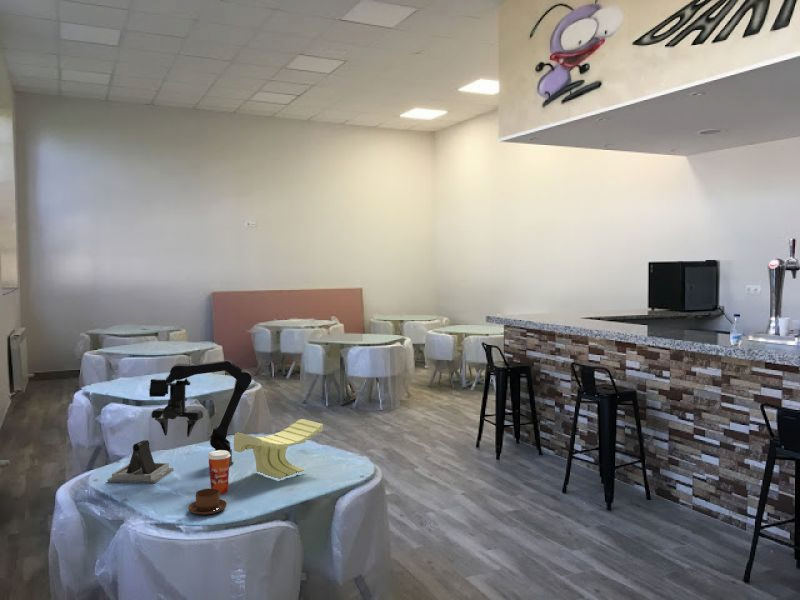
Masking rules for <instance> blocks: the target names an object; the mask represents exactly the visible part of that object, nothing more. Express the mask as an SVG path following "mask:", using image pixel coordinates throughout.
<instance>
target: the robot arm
mask: <svg viewBox="0 0 800 600" xmlns="http://www.w3.org/2000/svg"><path fill="white" fill-rule="evenodd" d="M218 372H227V373H228V374H229V375H230V376H231V377H232V378H234V379H235V381H234V387H233V391H232V393H231V395H230V398H229V400H228V403H227V405H226V407H225V409H224V412H223V414H222V416H221V419H220V421H219V423H218V424H217V426H216V425H214V424H213V426H212V429H211V432H210V433H209V434H208V435H209V437H208V439H209V444H210V446H211V448H213V449H214V451H217V450H225V451H228V452H229V453H230V455H231V456H230V457H229V468H230V467H231V466H232V465H233V464H234V462H235V461H233V451H232V450H233V449H232V447H231V442H230V441H229V440H228V438H227V435H228V430H229V428H230V424H231V422H232V419H233V417H234V415H235V412H236V411H237V408H238V406H239V403H240V401H241V399H242V396H243V395H244V393H245V392H247V390H248V388H249V386H250V385H251V383H252V380H253V379H252V374H251V373H250V371H249V370H246V369H242V368H240V367H239V366H237V365H236V364H235V363H233V362H232V361H231V360H229V359H225V360H221V361H220V360H219V361H210V362H204V363H196V364H194V363H192V364H191V363H175V364H173V365H172V367H170V371H169V374H168V375H167V376H166V378H165V379H157V378H151V379H150V383H149V384H150V385H149V388H148V389H149V390H148V391H149V393H148V394H149V398H163V397H166V395H169V399H168V401H167V405H166V406H165V407H164V408H160V407H159V408H156V409H153V410H152V411H151V416H150V417H151V419H154V420H155V421H157V422H158V423H159V424H160V427H161V429H162V432H163V435H164V436H167V435H168V429H169V427H168V426H169V420H176V418H177V417H179V418H181V417H182V418H187V419H186V423H187V427H186V428H187V431H186V436H187V438H189V437H190V436H191V434H192V431H193V429H194V427H195V424H197V422H198V421H199V420H201V419H203V418H204V412H203V411H202V410H197V409H193V410H191V411H187V408H186V401H187V397H186V388H187V387H186V386H191V381H189V379H188V378H190V377H193V376H195V375H196V376H197V375H202V374H210V373H218ZM169 387H170V388H169Z"/></svg>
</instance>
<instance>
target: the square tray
mask: <svg viewBox="0 0 800 600" xmlns="http://www.w3.org/2000/svg"><path fill="white" fill-rule="evenodd" d="M154 463H155V466H156V469H157V470H155V471H154V472H152V473H151V474H126V473H127V470H128V467H129V464H130V463H128V464H126V465H124V466H123V467H121V468H119V469H118V470H116V471H115V472H113V473H111V477H109V478H107V480H106V481H109V482H108V483H113V482H120V483H119V484H122V483H124V484H142V485H143V484H144V485H146V484H147V485H148V484H149V485H155V484H156V483H158V482H159V481H160V480H162V479H164V477H166V476H168V475H169V474H171V473H172V472H174V467H170V463H169V462H168V463H167V462H154ZM141 469H142V468H141Z"/></svg>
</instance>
